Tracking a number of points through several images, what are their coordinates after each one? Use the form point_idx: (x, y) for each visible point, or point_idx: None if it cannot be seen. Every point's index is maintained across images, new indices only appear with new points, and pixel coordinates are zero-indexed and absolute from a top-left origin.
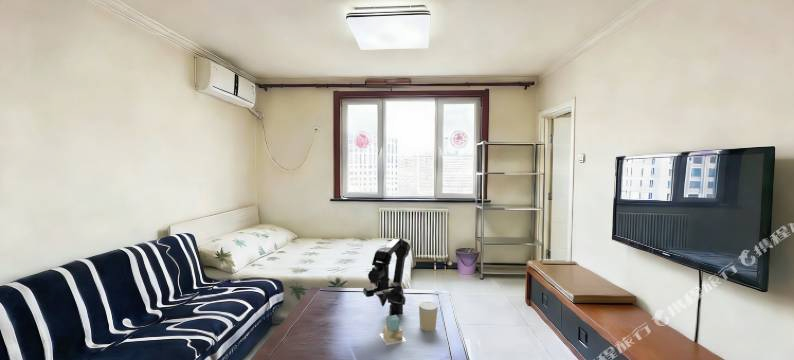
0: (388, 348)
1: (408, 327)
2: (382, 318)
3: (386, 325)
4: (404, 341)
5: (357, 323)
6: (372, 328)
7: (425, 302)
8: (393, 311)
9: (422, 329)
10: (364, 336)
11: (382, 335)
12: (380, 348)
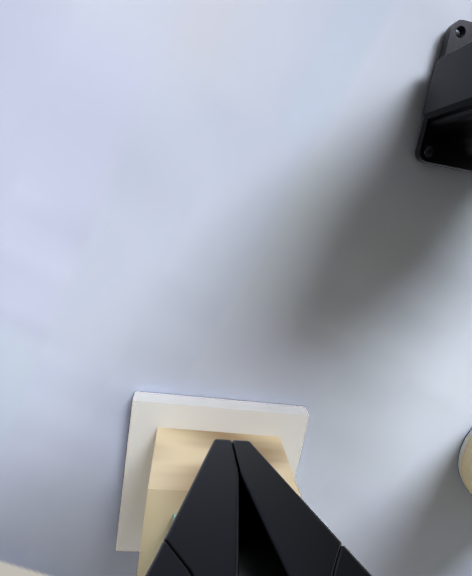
0: None
1: (411, 378)
2: (310, 122)
3: (181, 494)
4: None
5: (16, 76)
6: (131, 253)
7: None
8: (465, 123)
9: (467, 477)
10: (9, 343)
11: (148, 430)
12: (74, 530)
